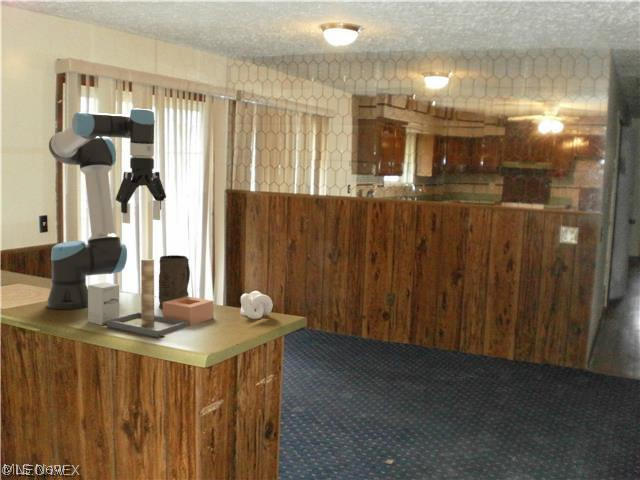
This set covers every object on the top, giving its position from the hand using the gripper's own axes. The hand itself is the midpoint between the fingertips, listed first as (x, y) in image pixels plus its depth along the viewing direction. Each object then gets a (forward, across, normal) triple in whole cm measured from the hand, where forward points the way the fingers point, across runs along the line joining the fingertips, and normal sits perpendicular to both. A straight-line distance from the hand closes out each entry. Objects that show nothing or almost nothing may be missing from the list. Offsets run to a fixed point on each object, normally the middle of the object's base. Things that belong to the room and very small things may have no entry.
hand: (141, 221), depth 211 cm
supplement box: (+35, -8, +9) cm, 37 cm away
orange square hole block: (+34, +8, -14) cm, 37 cm away
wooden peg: (+33, -6, -9) cm, 35 cm away
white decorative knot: (+34, +26, -28) cm, 51 cm away
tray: (+34, -6, -9) cm, 35 cm away
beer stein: (+35, +21, +4) cm, 41 cm away
